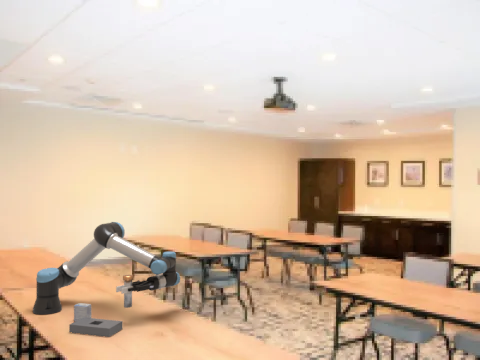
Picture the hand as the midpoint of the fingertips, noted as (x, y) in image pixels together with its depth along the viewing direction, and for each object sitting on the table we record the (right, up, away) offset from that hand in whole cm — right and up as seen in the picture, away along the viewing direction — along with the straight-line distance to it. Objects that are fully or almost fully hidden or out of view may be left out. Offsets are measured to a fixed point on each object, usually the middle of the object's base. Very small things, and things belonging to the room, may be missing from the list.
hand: (119, 290), depth 225 cm
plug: (+3, -10, +4) cm, 11 cm away
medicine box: (-22, -19, +8) cm, 30 cm away
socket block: (-9, -18, -7) cm, 22 cm away
